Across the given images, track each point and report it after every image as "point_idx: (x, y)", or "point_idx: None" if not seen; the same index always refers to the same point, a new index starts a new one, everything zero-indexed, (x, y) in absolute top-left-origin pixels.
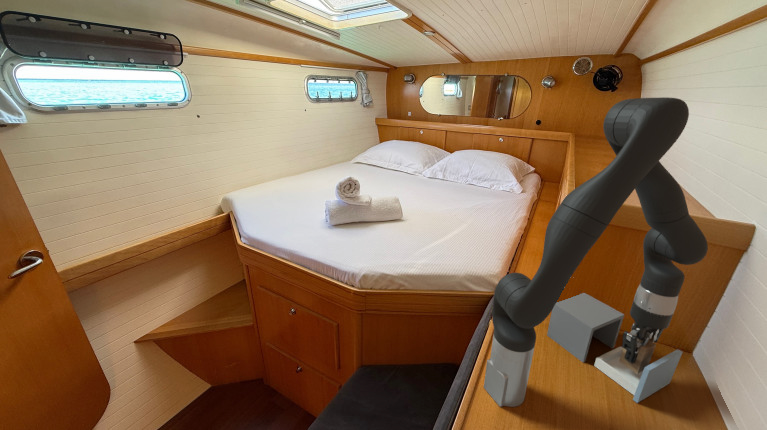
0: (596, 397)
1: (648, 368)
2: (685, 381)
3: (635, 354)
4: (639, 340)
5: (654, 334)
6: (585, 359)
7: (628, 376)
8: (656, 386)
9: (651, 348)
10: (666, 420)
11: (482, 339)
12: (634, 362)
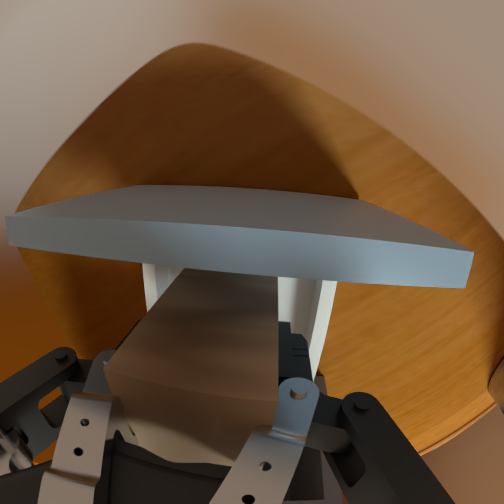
0: None
1: (457, 266)
2: (86, 168)
3: (291, 371)
4: (197, 443)
5: (97, 490)
6: (315, 382)
7: None
8: (241, 191)
9: (169, 365)
10: (341, 111)
11: (421, 456)
12: (284, 325)
